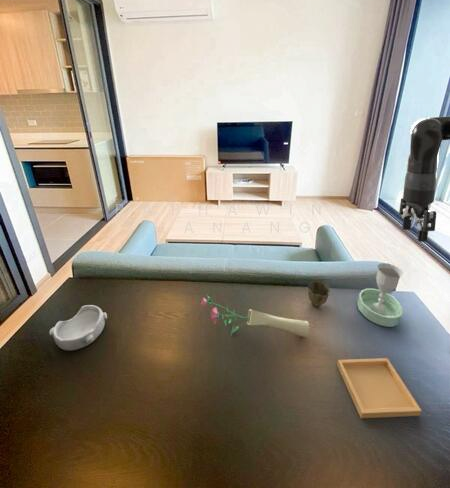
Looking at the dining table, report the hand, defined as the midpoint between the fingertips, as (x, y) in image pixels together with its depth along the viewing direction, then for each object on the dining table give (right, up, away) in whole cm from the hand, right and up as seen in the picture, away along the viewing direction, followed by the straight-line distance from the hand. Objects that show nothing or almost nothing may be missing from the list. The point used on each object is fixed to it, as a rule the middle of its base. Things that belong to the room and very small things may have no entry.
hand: (413, 234), depth 78 cm
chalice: (-5, -29, +10) cm, 31 cm away
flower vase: (-51, -32, +3) cm, 61 cm away
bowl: (-5, -30, +10) cm, 32 cm away
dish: (-107, -33, +2) cm, 112 cm away
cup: (-27, -29, +13) cm, 41 cm away
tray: (-21, -38, -13) cm, 45 cm away
